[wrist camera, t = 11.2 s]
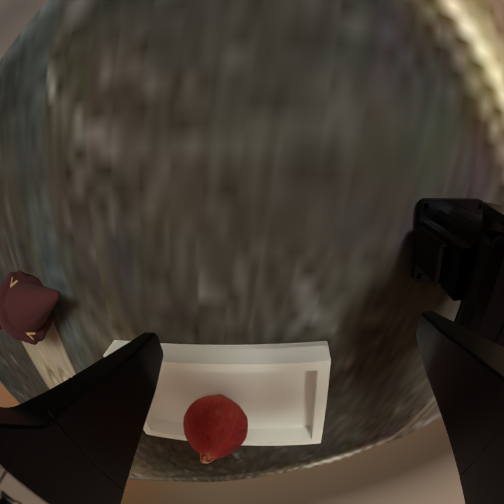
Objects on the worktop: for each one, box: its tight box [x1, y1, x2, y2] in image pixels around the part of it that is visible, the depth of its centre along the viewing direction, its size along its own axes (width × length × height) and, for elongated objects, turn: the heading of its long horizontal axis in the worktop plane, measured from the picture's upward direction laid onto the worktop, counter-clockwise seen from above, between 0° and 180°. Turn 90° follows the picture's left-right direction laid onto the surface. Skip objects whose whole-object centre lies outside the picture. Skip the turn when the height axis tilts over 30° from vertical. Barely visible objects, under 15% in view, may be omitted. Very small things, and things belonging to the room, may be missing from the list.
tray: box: [103, 340, 331, 446], centre depth 25 cm, size 20×13×2 cm, turn 96°
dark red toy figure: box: [0, 271, 60, 345], centre depth 22 cm, size 7×7×15 cm
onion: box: [183, 394, 248, 463], centre depth 22 cm, size 6×6×8 cm
